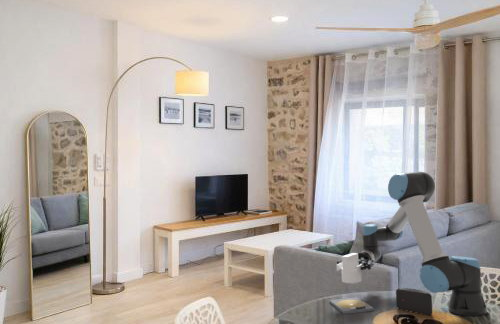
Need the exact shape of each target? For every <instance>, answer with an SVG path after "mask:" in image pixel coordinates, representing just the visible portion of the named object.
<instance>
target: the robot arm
mask: <svg viewBox="0 0 500 324" xmlns="http://www.w3.org/2000/svg"><path fill="white" fill-rule="evenodd" d="M435 189H436V183H435V180H434V178H433V177H432V176H431V175H430V174H429V173H427V172H424V171H416V172H414V171H413V172H400V173H396V174H394V175H392V176H391V177H390V179H389V181H388V185H387V191H388V194H389V197H390V198H392V199H393V200H394V201H395V200H396V201H397V203H398V206H399V208H398V209H397V210H396V212H395V214H394V215H392V217H391V219H390V220H389V221H388V223H387V224H386V225H385V226H380V227H379V226H378V225H377V224H374V223H369V224H363V225H362V232H361V233H362V244H363V245H362V248H363V249H362V251H360V252H357V253H358V261H359V265H358V266H357V267H356V272H357V273H359V272H360V271H361V272H362V271H364V270H365V271H366V270H371V269H372V267H373V266H374V265H375V263H376V262H378V261H379V259H381V256H382V251H381V250H380V248H379V243H383V242H391V241H396V240H400V239H401V238H402V237H403V230H404V229H405V227H406V226H407V224H408V223H409V226H410V227H411V230H412V233H413V236H414V238H415V241H416V243H417V246H418V249H419V251H420V254H421V257H422V260H421V268H420V269H419V279H420V281H421V283H422V285H423V286H424V288H426V290H428V291H430V292H432V293H435V294H436V293H446V292H450V291H451V294H450V298H449V301H448V305H447V306H448V308H447V309H448V311H449V312H451V313H453V314H456V315H460V316H468V317H477V316H478V317H479V316H483V315H486V314H487V313H488V310H487V304H486V301H485V300H484V297H483V295H482V283H481V282H482V278H481V277H482V276H481V265H480V261H479V260H478V259H477V258H475V257H468V256H459V255H452V256H450V257H449V255H448V254H446V253H444V252H443V249H442V246H441V244H440V241H439V239H438V237H437V234H436V232H435V229H434V226H433V224H432V221H431V219H430V217H429V216H430V215H429V213H428V212H427V209H426V206H425V203H428V202H429V200H430V199H432V197H433V195H434V193H435ZM335 266H336V267H335V268H336V272H339V271H341V267H343V265H342V259H341V260H337V261H336V265H335Z"/></svg>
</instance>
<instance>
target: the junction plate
mask: <svg viewBox="0 0 500 324" xmlns="http://www.w3.org/2000/svg"><path fill="white" fill-rule="evenodd" d="M329 303H330V305H332V306H333V307H334V308H336V309H337V310H338V311H340V313H342V314H344V315H348V314H349V315H350V314H358V313H365V312H367V313H368V312H373V311H375V310H374V309H375V307H373V306H371V305H370V304H368V303H367V302H366V301H364V300H362V299H361V298H359V297H357V296H355V297H347V298H338V299H337V298H336V299H329Z"/></svg>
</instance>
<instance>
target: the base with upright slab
mask: <svg viewBox="0 0 500 324" xmlns="http://www.w3.org/2000/svg"><path fill="white" fill-rule="evenodd" d="M358 253H359V252H352V253H348V254H345V255H342V256H341V260H342V265H343V267H341V270H340V272H341V273H340V274H341V282H342V283H345V284H358V283H360V282H362V280H363V279H362V271H360V272H359V273H357V272H356V267H357V266H358V265H359V261H358Z"/></svg>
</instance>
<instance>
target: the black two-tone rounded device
mask: <svg viewBox="0 0 500 324" xmlns="http://www.w3.org/2000/svg"><path fill="white" fill-rule="evenodd" d="M395 299H396V300H395V301H396V308H397V309H398V310H400V309H403V310H402V311H404V310H408V311H407V312H409V311H412V312H411V313H414V312H417V313H416V314H419V313H422V314H421V315H424V314H427V315H426V316H431V315H432V314H433V301H432V300H433V297H432V295H431V293H429V292H428V291H425V290H421V289H416V288H407V287H406V288H404V287H403V288H402V287H400V288H397V289H396V290H395Z"/></svg>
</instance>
